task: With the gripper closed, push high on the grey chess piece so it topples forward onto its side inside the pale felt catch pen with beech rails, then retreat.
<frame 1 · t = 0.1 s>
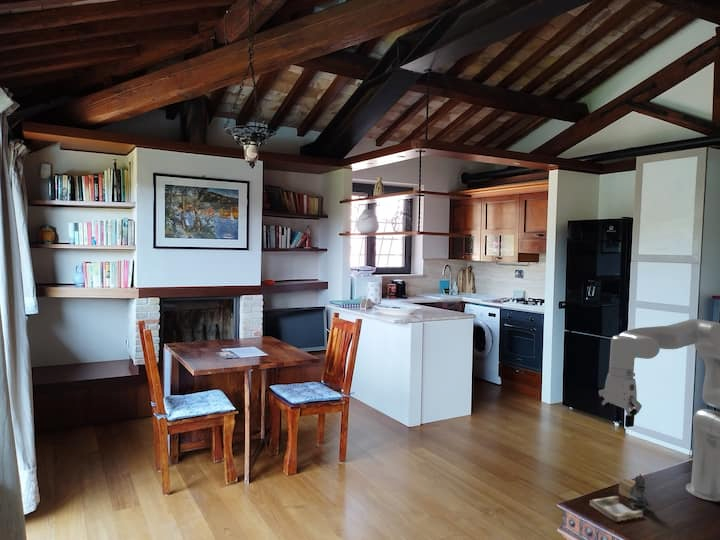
hand: (617, 421, 180), 31 cm above the table, fingers open, 9 cm apart
oak block: (629, 495, 193), on the table
catch pen: (615, 510, 181), on the table
grey chess piece: (637, 507, 184), on the table
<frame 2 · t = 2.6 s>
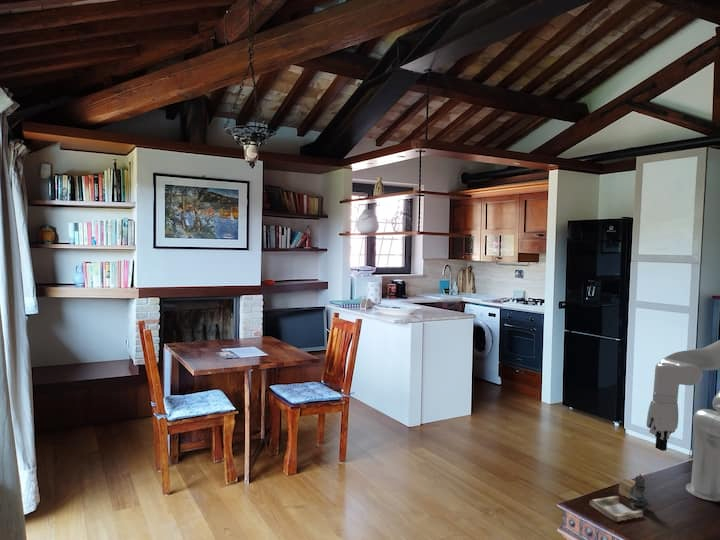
hand: (660, 449, 186), 20 cm above the table, fingers closed
nothing on the table moved.
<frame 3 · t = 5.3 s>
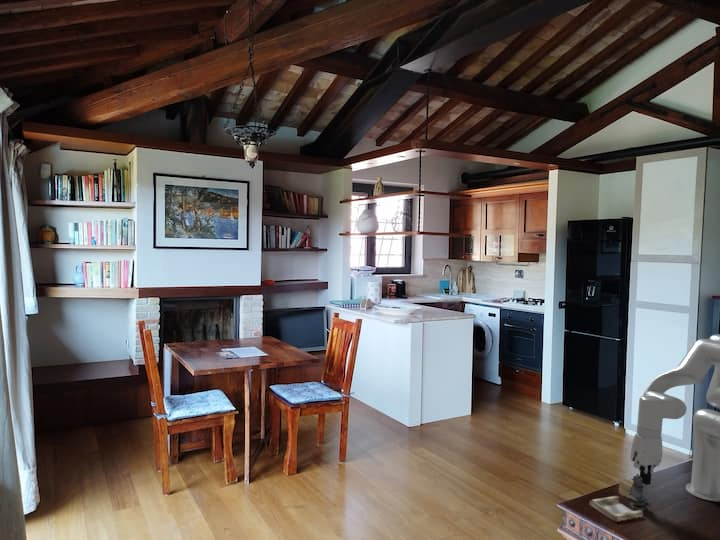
hand: (644, 482, 184), 8 cm above the table, fingers closed
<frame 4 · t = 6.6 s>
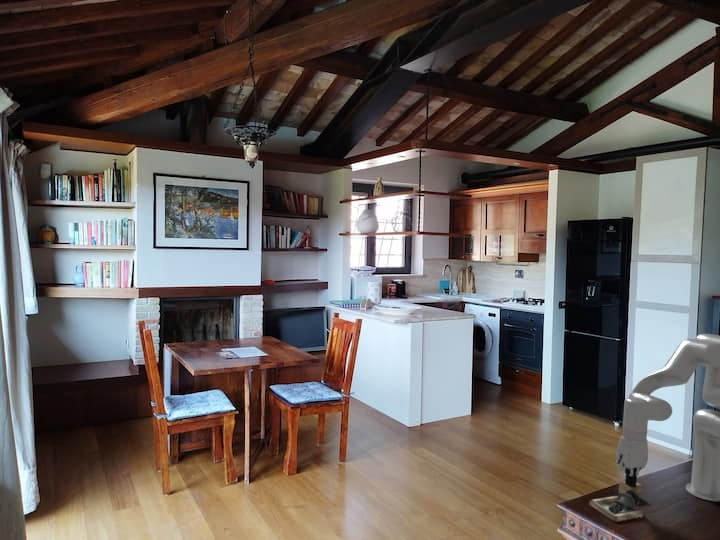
hand: (630, 485, 182), 8 cm above the table, fingers closed
grey chess piece: (632, 497, 183), point 4 cm above the table, touching catch pen
everything else where it was.
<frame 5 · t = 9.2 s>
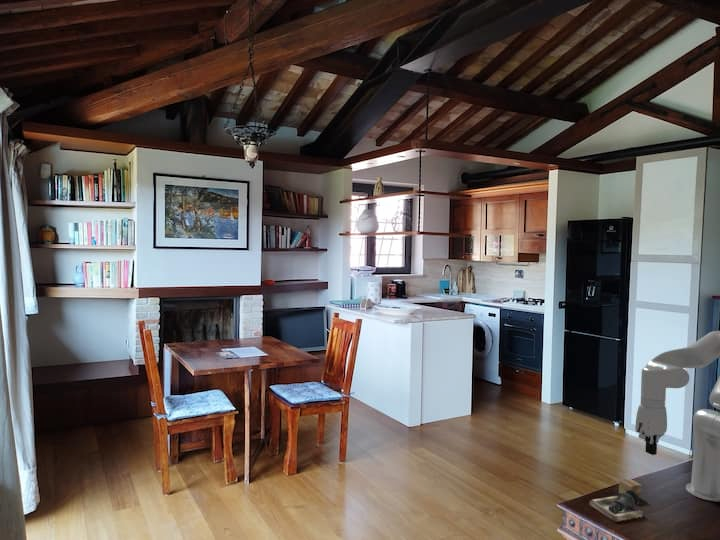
hand: (650, 453, 185), 19 cm above the table, fingers closed
nothing on the table moved.
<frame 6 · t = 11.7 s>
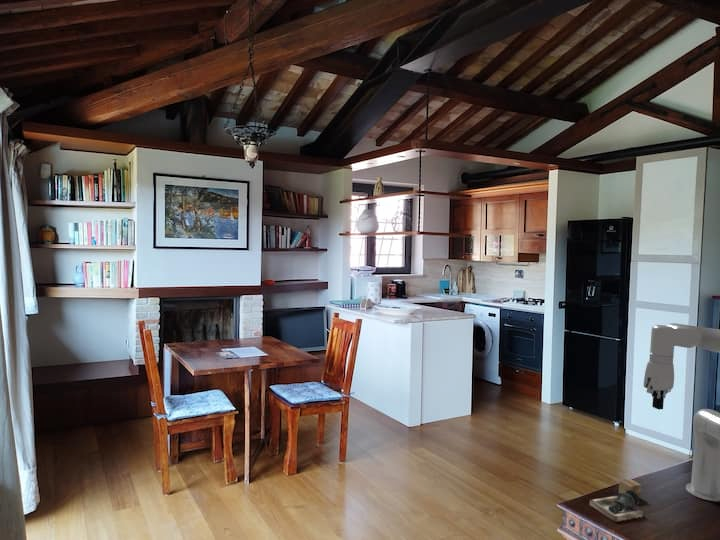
hand: (657, 408, 193), 32 cm above the table, fingers closed
nothing on the table moved.
at the end: grey chess piece tilted 103°; grey chess piece inside the target area (5.9 cm from its centre), point 4.1 cm above the table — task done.
